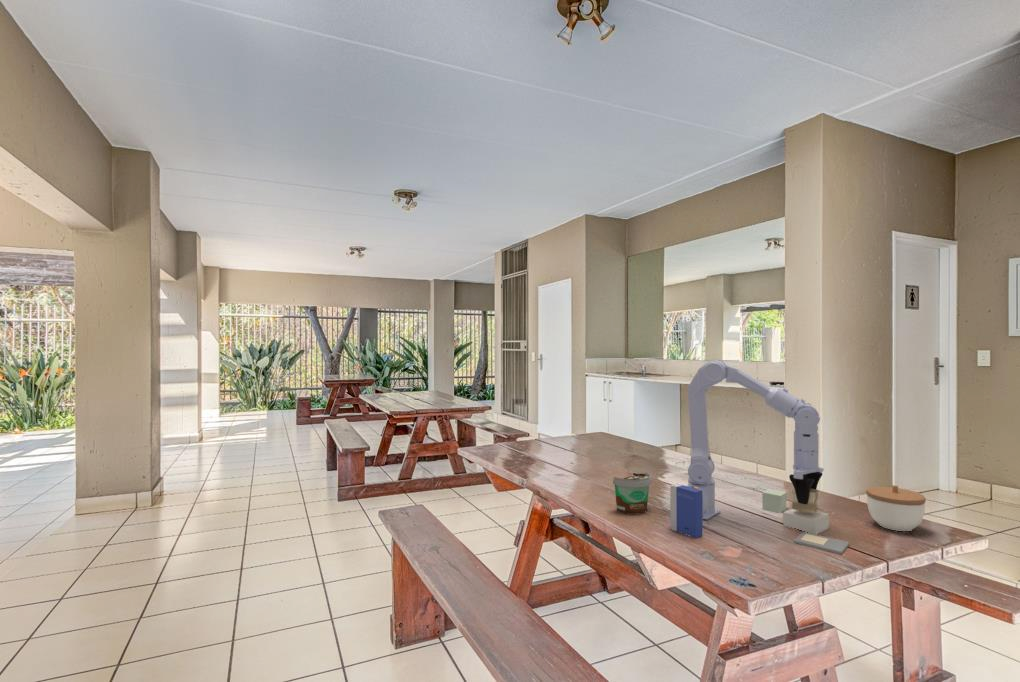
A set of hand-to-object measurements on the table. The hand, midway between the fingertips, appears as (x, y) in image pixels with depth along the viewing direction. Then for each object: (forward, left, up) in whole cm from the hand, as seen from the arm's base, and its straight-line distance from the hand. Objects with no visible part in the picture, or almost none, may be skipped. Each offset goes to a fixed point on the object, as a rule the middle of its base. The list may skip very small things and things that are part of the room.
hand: (806, 500), depth 139 cm
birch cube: (0, 0, -2) cm, 2 cm away
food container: (-20, +39, -7) cm, 44 cm away
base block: (0, 0, -7) cm, 7 cm away
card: (-10, -6, -7) cm, 14 cm away
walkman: (-26, +21, -7) cm, 34 cm away
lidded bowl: (+16, -17, -7) cm, 24 cm away
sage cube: (+10, +11, -7) cm, 16 cm away
